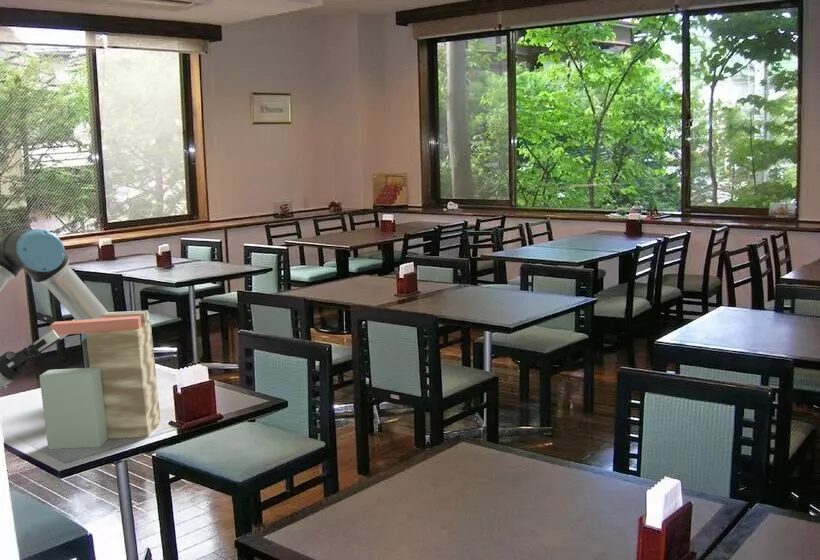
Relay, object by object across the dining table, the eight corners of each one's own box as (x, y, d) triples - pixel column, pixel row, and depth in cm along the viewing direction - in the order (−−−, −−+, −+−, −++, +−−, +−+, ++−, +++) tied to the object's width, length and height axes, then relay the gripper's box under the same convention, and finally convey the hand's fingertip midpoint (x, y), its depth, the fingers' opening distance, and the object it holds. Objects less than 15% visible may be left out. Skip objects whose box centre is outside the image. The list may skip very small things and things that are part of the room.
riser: (57, 441, 234) (48, 369, 230) (107, 439, 234) (99, 367, 230) (48, 449, 228) (39, 375, 224) (100, 446, 228) (91, 373, 224)
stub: (56, 332, 233) (54, 321, 232) (141, 326, 235) (140, 315, 235) (51, 335, 229) (50, 324, 228) (139, 329, 231) (137, 318, 231)
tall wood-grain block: (112, 424, 246) (100, 312, 241) (160, 422, 246) (149, 309, 241) (97, 439, 234) (84, 320, 229) (148, 436, 234) (135, 318, 229)
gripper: (33, 368, 246) (91, 329, 244) (-9, 393, 222) (55, 350, 220) (18, 347, 245) (76, 308, 243) (-27, 370, 221) (38, 327, 219)
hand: (66, 328), depth 232 cm, fingers open, 13 cm apart
